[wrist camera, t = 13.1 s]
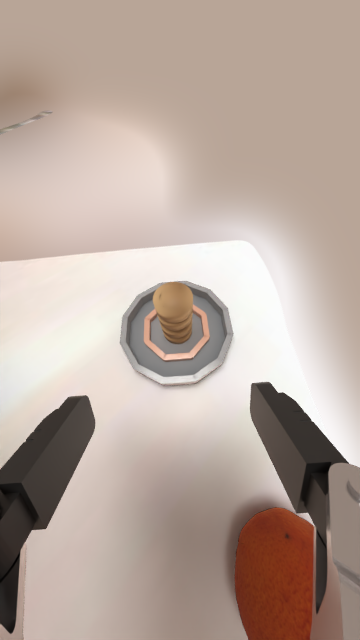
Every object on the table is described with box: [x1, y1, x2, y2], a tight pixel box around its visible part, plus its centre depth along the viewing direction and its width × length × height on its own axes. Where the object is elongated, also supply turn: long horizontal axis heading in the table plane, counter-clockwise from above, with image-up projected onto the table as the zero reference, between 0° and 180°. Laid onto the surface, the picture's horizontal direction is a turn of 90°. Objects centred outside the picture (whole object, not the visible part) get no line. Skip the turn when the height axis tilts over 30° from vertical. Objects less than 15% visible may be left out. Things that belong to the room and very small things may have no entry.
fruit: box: [235, 508, 314, 640], centre depth 13 cm, size 9×9×8 cm
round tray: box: [120, 281, 233, 386], centre depth 27 cm, size 16×16×2 cm
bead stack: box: [153, 282, 193, 344], centre depth 23 cm, size 4×4×9 cm
